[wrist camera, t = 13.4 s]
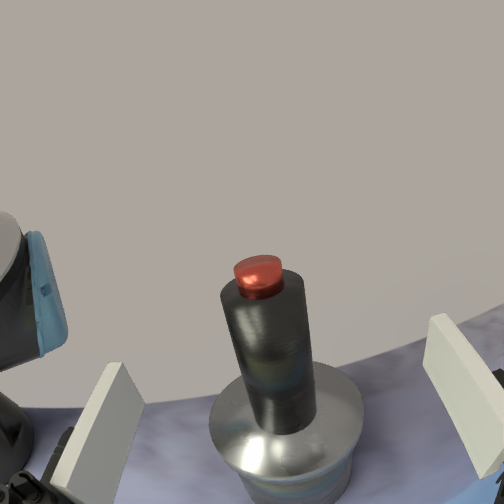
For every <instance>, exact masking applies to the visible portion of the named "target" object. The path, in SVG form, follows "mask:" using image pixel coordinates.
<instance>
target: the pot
mask: <svg viewBox="0 0 504 504" xmlns="http://www.w3.org/2000/svg"><path fill="white" fill-rule="evenodd" d="M352 455H353V451H352V452H351V454H350V455H349V456H348V457H347V458H346V459H345V460H344V461H343V462H342V463H341V464H340V465H338V466H337V467H336V468H334V469H333V470H331V471H330V472H328V473H326V474H324V475H322V476H320V477H318V478H315V479H312V480H309V481H306V482H302V483H296V484H288V485H275V484H266V483H261V482H257V481H254V480H251V479H248V478H246V477H244V476H242V475H240V474H239V473H238V474H239V476H240V478H241V480H242V482H243V484H244V486H245V487H246V489H247V491H248V493H249V495H250V496H251V498H252V499H253V501H254V502H255V503H256V504H333V503H335V502H336V501H337V500H338V499H339V498H340V497H341V495H342V494H343V493H344V491H345V489H346V488H347V485H348V483H349V479H350V474H351V465H352Z"/></svg>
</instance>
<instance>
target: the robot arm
mask: <svg viewBox="0 0 504 504" xmlns="http://www.w3.org/2000/svg"><path fill="white" fill-rule="evenodd" d="M67 336H68V326H67V321H66V317H65V313H64V309H63V305H62V301H61V298H60V294H59V290H58V287H57V283H56V279H55V276H54V272H53V268H52V265H51V261H50V257H49V254H48V250H47V247H46V243H45V240H44V238H43V236H42V234H41V233H40V232H39V231H33V232H31V231H28V232H27V233H26V234H25V235H23V234H22V232H21V229H20V227H19V225H18V223H17V221H16V219H15V218H14V217H13V216H12V215H10V214H8V213H6V212H2V211H0V372H2V371H5V370H8V369H10V368H13V367H16V366H18V365H21V364H23V363H26V362H29V361H31V360H34V359H36V358H42V357H43V356H44V354H46V353H48V352H50V351H52V350H54V349H56V348H58V347H60V346H62V345H63V344H64V343H65V342H66V340H67ZM422 365H423V367H424V369H425V370H426V372H427V374H428V376H429V378H430V379H431V381H432V383H433V385H434V387H435V389H436V390H437V392H438V394H439V396H440V398H441V400H442V402H443V404H444V406H445V407H446V409H447V411H448V413H449V415H450V417H451V419H452V421H453V423H454V425H455V427H456V429H457V431H458V433H459V435H460V437H461V439H462V441H463V444H464V446H465V448H466V450H467V452H468V454H469V456H470V459H471V461H472V463H473V465H474V467H475V470H476V472H477V474H478V476H479V479H480V480H481V479H483V478H485V477H487V476H489V475H491V474H493V473H495V472H497V471H498V469H499V468H500V467H501V465H502V464H503V463H504V371H503V370H502V369H498V370H495V371H493V372H491V371H490V370H489V368H488V367H487V365H486V364H485V363H484V361H483V360H482V359H481V357H480V356H479V355H478V353H477V352H476V351H475V349H474V348H473V347H472V346H471V344H470V343H469V342H468V340H467V339H466V338H465V337H464V335H463V334H462V333H461V331H460V330H459V329H458V328H457V326H456V325H455V324H454V323H453V322H452V320H451V319H450V318H449V317H448V315H447V314H446V313H442V314H438V315H434V316H431V317H430V321H429V328H428V335H427V341H426V347H425V353H424V359H423V364H422ZM144 406H145V402H144V401H143V399H142V397H141V395H140V394H139V392H138V390H137V388H136V387H135V385H134V383H133V381H132V379H131V377H130V376H129V374H128V372H127V370H126V368H125V366H124V364H123V362H110V363H108V364H107V366H106V368H105V370H104V371H103V373H102V375H101V377H100V379H99V381H98V383H97V385H96V387H95V388H94V391H93V393H92V394H91V396H90V398H89V400H88V402H87V404H86V406H85V408H84V410H83V412H82V414H81V416H80V418H79V420H78V422H77V424H76V426H75V428H74V427H69V428H68V429H67V430H66V431H65V432H64V433H63V435H62V436H61V438H60V440H59V442H58V444H57V447H56V448H55V450H54V452H53V453H54V454H52V456H51V459H50V461H49V463H48V465H47V467H46V469H45V471H44V474H43V476H42V478H41V480H40V482H39V481H38V480H37V479H36V478H35V477H34V476H33V475H32V474H31V473H29V472H28V471H24V470H22V471H20V470H21V469H22V467H23V466H24V464H25V463H26V461H27V459H28V457H29V455H30V452H31V449H32V446H33V440H34V431H33V426H32V423H31V421H30V420H29V418H28V417H27V416H26V414H25V413H24V412H23V411H22V409H21V408H20V407H19V406H18V405H17V404H16V403H15V402H13V401H12V400H10V399H9V398H8V397H7V396H5V395H4V394H2V393H1V392H0V504H113V502H114V499H115V496H116V492H117V489H118V486H119V482H120V479H121V476H122V473H123V470H124V466H125V463H126V460H127V457H128V454H129V451H130V448H131V445H132V442H133V439H134V436H135V433H136V430H137V427H138V424H139V421H140V418H141V415H142V412H143V409H144ZM501 480H502V481H501ZM500 481H501V484H500V487H499V490H498V493H497V496H496V499H495V502H494V504H504V472H503V473H502V474H501V475H500V477H499V478H498V479H497V481H496V483H497V484H498V483H499V482H500ZM7 482H9V483H8V487H7V486H5V485H4V484H6V483H7Z"/></svg>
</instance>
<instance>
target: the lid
mask: <svg viewBox="0 0 504 504" xmlns="http://www.w3.org/2000/svg"><path fill="white" fill-rule="evenodd" d="M234 274H235V279H233V280H232V281H230V282H229V283H228V284H227V285H226V286H225V287H224V288H223V289H222V291H221V294H220V297H221V302H222V306H223V310H224V313H225V317H226V321H227V324H228V328H229V332H230V335H231V338H232V342H233V346H234V349H235V353H236V356H237V360H238V363H239V367H240V370H241V373H242V375H241V376H240V377H238V378H237V379H235V380H234V381H233V382H231V383H230V384H229V385H228V386H227V387H226V388H225V389H224V390H223V391H222V392H221V394H220V395H219V396H218V398H217V399H216V401H215V403H214V405H213V407H212V410H211V413H210V418H209V429H210V434H211V438H212V441H213V443H214V445H215V447H216V448H217V450H218V452H219V454H220V456H221V457H222V459H223V460H224V461H225V463H226V464H227V465H228V466H229V467H230V468H231V469H233V470H234V471H236V472H237V473H239V474H240V475H242V476H244V477H246V478H248V479H251V480H254V481H257V482H261V483H266V484H275V485H288V484H296V483H302V482H306V481H309V480H312V479H315V478H318V477H320V476H322V475H324V474H326V473H328V472H330V471H331V470H333V469H334V468H336V467H337V466H338V465H340V464H341V463H342V462H343V461H344V460H345V459H346V458H347V457H348V456H349V455H350V454H351V452H352V451H353V449H354V448H355V446H356V445H357V443H358V441H359V438H360V435H361V432H362V427H363V419H364V403H363V398H362V396H361V393H360V391H359V389H358V388H357V386H356V384H355V383H354V382H353V381H352V380H351V379H350V378H349V377H348V376H347V375H346V374H344V373H343V372H341V371H339V370H338V369H336V368H334V367H331V366H329V365H326V364H323V363H319V362H314V361H312V351H311V341H310V332H309V323H308V314H307V306H306V298H305V289H304V281H303V279H302V277H301V276H300V275H298V274H297V273H295V272H293V271H289V270H284V269H282V264H281V260H280V259H279V258H278V257H276V256H272V255H260V256H254V257H250V258H247V259H244V260H242V261H240V262H239V263H238V264H236V265H235V267H234Z"/></svg>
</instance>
